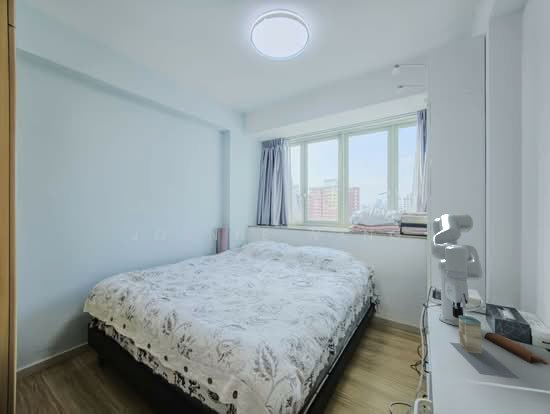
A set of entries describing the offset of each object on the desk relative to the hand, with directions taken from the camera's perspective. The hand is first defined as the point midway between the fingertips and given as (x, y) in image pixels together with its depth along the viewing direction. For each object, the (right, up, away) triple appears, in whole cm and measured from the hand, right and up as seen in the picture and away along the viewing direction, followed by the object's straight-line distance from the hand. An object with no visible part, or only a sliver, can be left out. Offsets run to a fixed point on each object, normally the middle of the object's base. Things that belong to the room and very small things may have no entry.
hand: (457, 317), depth 100 cm
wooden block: (-2, -9, -9) cm, 12 cm away
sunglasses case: (+16, -10, -9) cm, 21 cm away
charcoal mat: (-3, -9, -14) cm, 17 cm away
